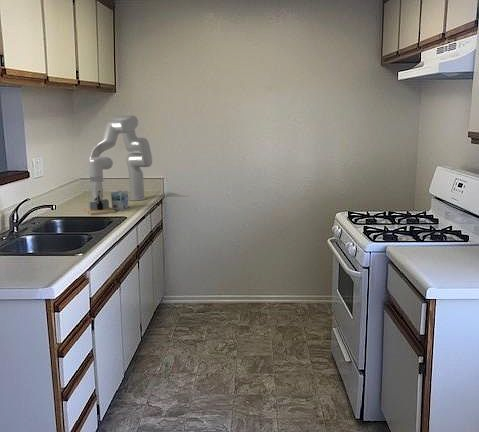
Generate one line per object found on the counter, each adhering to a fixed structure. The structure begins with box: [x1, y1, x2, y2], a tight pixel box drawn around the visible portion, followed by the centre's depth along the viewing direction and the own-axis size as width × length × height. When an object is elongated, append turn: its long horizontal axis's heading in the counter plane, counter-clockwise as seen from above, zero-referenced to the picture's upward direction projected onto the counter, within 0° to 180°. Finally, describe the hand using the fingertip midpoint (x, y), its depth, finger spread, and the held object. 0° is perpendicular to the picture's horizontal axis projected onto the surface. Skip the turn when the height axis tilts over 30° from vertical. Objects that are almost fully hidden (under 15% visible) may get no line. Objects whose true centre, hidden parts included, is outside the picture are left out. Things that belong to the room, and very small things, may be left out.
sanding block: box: [88, 198, 110, 210], centre depth 335 cm, size 6×11×5 cm, turn 114°
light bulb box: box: [110, 189, 129, 211], centre depth 344 cm, size 11×7×11 cm, turn 168°
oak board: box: [82, 206, 116, 216], centre depth 337 cm, size 22×14×2 cm, turn 27°
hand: (98, 208), depth 336 cm, fingers closed on sanding block, 6 cm apart
